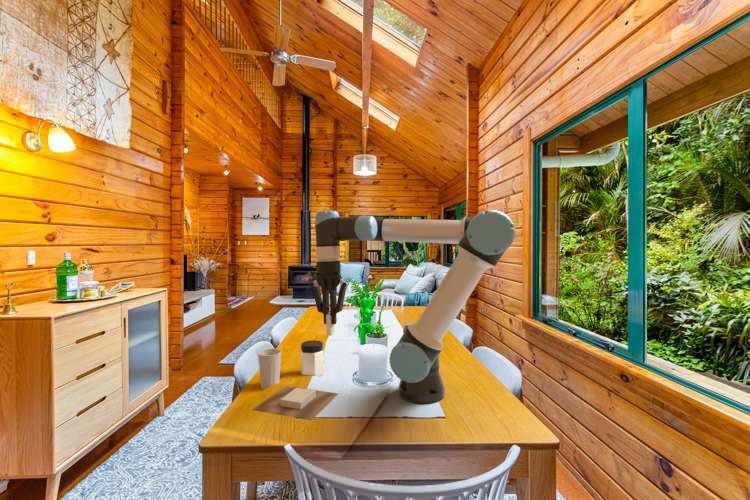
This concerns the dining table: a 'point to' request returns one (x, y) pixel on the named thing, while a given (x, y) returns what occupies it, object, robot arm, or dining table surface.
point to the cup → (269, 367)
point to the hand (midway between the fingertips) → (330, 334)
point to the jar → (312, 358)
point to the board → (305, 413)
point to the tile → (298, 398)
